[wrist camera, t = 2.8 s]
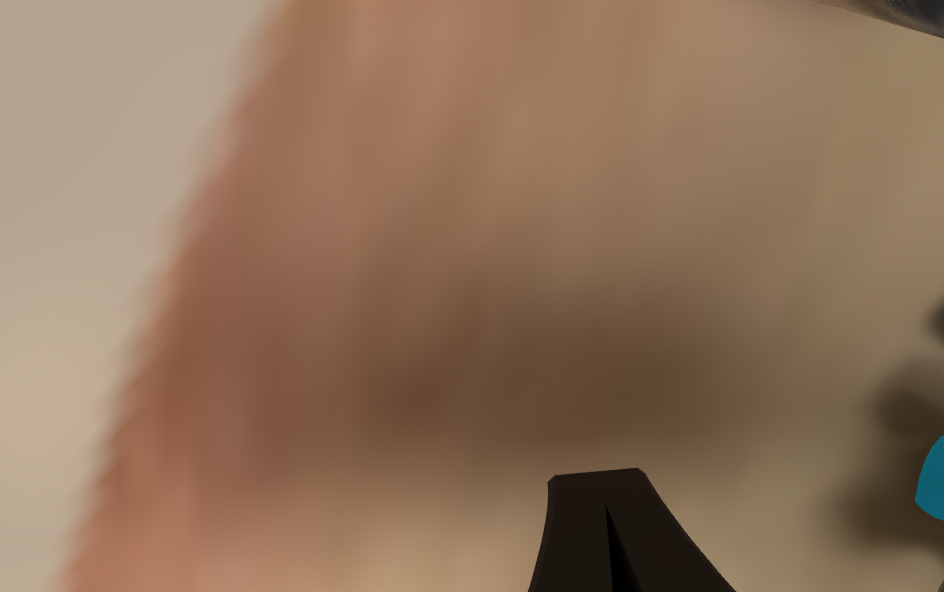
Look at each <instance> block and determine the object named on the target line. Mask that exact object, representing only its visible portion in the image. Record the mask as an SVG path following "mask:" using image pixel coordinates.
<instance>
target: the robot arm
mask: <svg viewBox="0 0 944 592" xmlns="http://www.w3.org/2000/svg"><path fill="white" fill-rule="evenodd" d="M528 592H736V591H735V590H734V589H733V588H732V587H731V585H730V584H729V583H728V582H727V581H726V580H725V579H724V578H723V576H722V575H721V574H720V573H719V572H718V571H717V570H716V568H715V567H714V566H713V565H712V564H711V562H710V561H709V560H708V559H707V558H706V556H705V555H704V554H703V553H702V552H701V550H700V549H699V548H698V547H697V546H696V545H695V543H694V542H693V541H692V540H691V538H690V537H689V536H688V534H687V533H686V532H685V531H684V529H683V528H682V527H681V525H680V524H679V523H678V521H677V520H676V519H675V517H674V516H673V515H672V513H671V512H670V511H669V509H668V508H667V506H666V505H665V504H664V502H663V501H662V499H661V498H660V496H659V495H658V493H657V492H656V490H655V489H654V487H653V486H652V484H651V482H650V481H649V479H648V477H647V476H646V474H645V473H644V472H642V471H641V470H640V469H639V468H630V469H619V470H608V471H597V472H586V473H575V474H564V475H555V476H554V477H553V478H552V479H551V480H550V481H549V482H548V506H547V515H546V521H545V527H544V532H543V537H542V542H541V546H540V550H539V554H538V557H537V561H536V565H535V569H534V573H533V577H532V580H531V583H530V587H529V590H528Z"/></svg>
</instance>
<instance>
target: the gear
mask: <svg viewBox="0 0 944 592" xmlns="http://www.w3.org/2000/svg"><path fill="white" fill-rule="evenodd" d="M915 502H916V503H917V504H918V505H919V506H920V507H921V509H922V510H924V511H925V512H927V513H928V514H930V515H931V516H933V517H935V518H937V519H940V520H943V521H944V436H941V437H940V438H939V439H938V441H937V442H936V443H935V444H934V445H933V447H932V448H931V450H930V452H929V454H928V456H927V458H926V460H925V462H924V465H923V468H922V471H921V474H920V477H919V482H918V487H917V492H916V497H915ZM938 592H944V581H943V582H942V584H941V585H940V587H939V589H938Z"/></svg>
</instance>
